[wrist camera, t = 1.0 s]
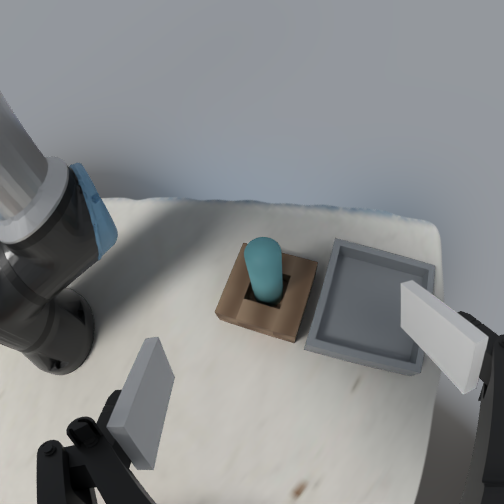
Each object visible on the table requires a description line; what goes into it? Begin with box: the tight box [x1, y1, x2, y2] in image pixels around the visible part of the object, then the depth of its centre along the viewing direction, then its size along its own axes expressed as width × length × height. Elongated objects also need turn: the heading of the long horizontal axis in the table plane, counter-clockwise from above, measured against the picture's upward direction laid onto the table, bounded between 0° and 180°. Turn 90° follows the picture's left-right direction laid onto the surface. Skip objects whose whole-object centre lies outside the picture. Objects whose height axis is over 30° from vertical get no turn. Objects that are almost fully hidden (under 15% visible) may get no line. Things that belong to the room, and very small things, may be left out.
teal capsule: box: [244, 237, 283, 307], centre depth 39 cm, size 4×4×12 cm
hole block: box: [215, 243, 318, 343], centre depth 43 cm, size 11×11×4 cm
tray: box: [304, 238, 435, 376], centre depth 40 cm, size 16×16×4 cm
